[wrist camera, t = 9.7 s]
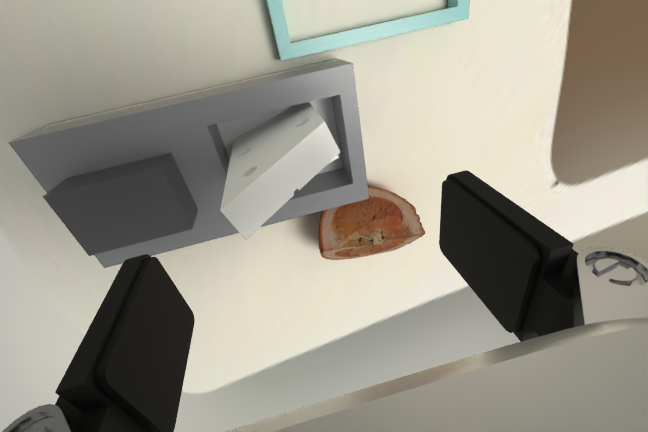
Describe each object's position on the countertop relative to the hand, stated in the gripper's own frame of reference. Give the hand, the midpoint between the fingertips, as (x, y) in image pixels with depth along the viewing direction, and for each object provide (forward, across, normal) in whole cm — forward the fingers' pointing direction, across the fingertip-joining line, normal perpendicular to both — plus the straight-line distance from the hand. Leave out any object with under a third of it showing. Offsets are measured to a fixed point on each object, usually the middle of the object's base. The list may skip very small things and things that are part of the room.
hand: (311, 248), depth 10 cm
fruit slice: (+15, -5, +9) cm, 18 cm away
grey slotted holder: (+15, +4, +1) cm, 15 cm away
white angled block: (+14, 0, +1) cm, 14 cm away
